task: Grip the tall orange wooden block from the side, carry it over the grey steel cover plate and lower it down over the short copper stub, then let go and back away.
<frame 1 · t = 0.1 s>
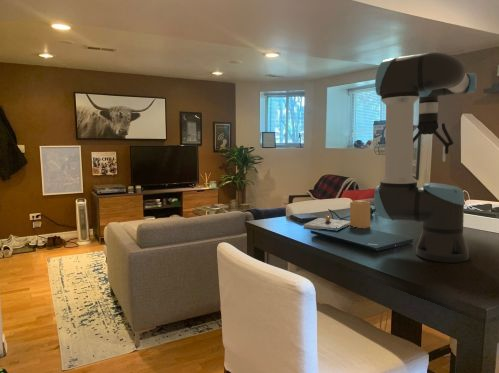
hand: (426, 161, 163), 28 cm above the table, fingers open, 13 cm apart
wooden block: (360, 226, 162), on the table
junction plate: (327, 226, 165), on the table
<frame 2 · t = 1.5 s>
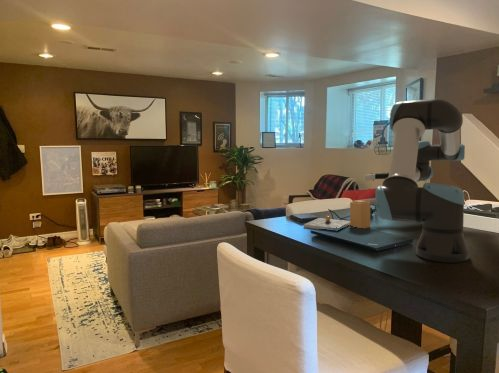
hand: (376, 179, 164), 21 cm above the table, fingers open, 13 cm apart
nothing on the table moved.
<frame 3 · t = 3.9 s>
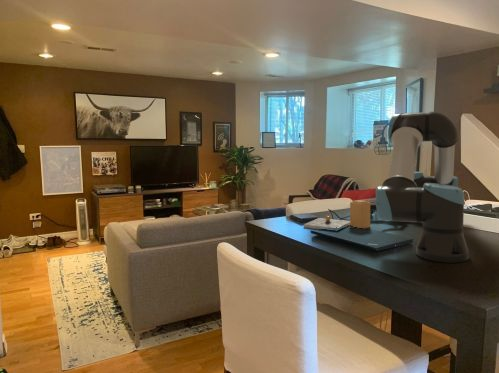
hand: (368, 211, 164), 6 cm above the table, fingers open, 13 cm apart
nothing on the table moved.
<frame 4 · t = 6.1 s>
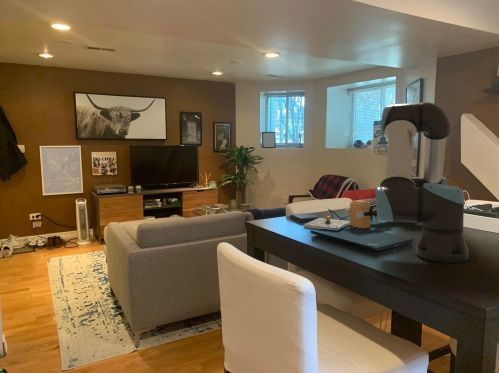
hand: (351, 213, 159), 7 cm above the table, fingers closed on wooden block, 6 cm apart
wooden block: (360, 226, 162), on the table, touching gripper
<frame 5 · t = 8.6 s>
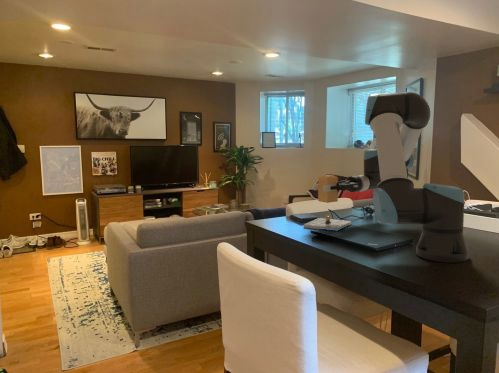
hand: (318, 187, 161), 18 cm above the table, fingers closed on wooden block, 6 cm apart
wooden block: (327, 201, 164), point 11 cm above the table, touching gripper
when the fingers open (9 cm above the table, at t = 10.8 s): wooden block stays where it is, resting on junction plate.
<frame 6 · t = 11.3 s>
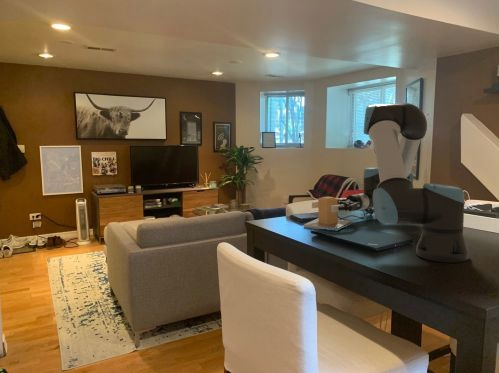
hand: (321, 207, 163), 9 cm above the table, fingers open, 12 cm apart
wooden block: (328, 222, 165), point 1 cm above the table, touching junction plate
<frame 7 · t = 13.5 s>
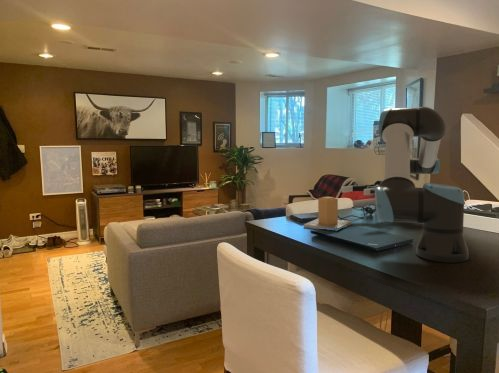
hand: (352, 190, 167), 15 cm above the table, fingers open, 13 cm apart
nothing on the table moved.
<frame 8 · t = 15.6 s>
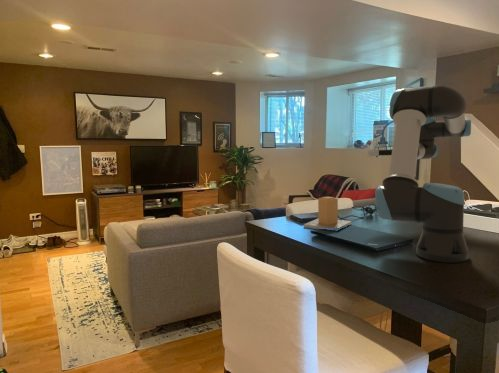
hand: (380, 153, 159), 32 cm above the table, fingers open, 13 cm apart
nothing on the table moved.
at the end: wooden block 0.1 cm off-centre on the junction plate, point 1.5 cm above the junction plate's base; wooden block tilted 0°; the gripper is holding nothing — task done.
